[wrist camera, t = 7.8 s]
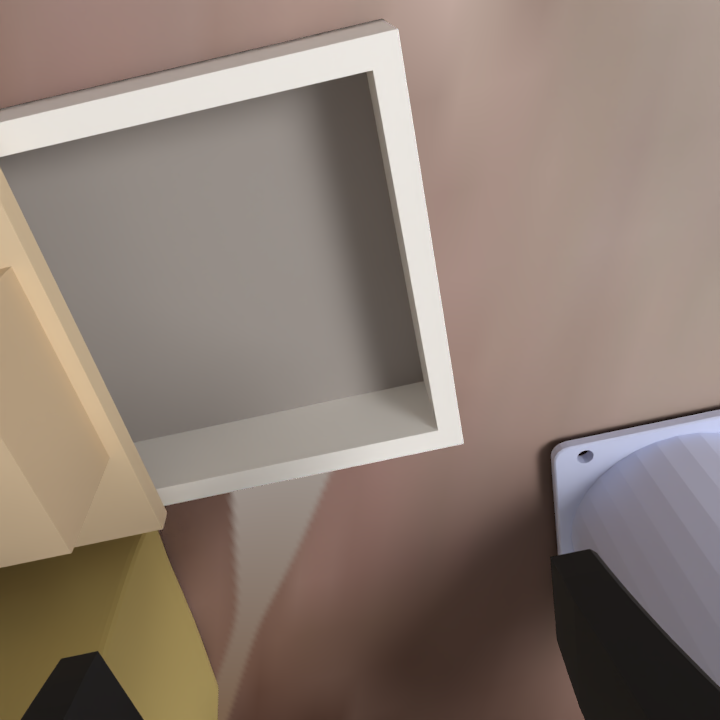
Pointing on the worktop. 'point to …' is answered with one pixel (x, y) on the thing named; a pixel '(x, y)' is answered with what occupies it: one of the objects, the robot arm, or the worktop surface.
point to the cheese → (105, 628)
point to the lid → (57, 420)
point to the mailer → (247, 258)
